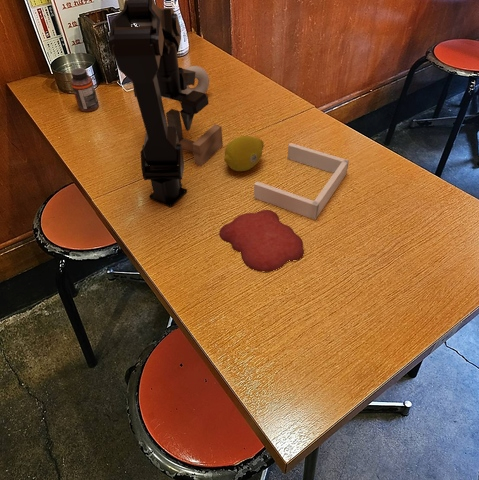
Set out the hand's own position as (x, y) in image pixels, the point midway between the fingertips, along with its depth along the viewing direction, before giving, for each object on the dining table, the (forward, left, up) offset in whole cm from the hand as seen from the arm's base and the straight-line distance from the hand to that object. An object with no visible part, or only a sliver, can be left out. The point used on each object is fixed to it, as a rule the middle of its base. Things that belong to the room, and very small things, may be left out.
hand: (174, 125), depth 116 cm
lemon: (0, -20, -6) cm, 21 cm away
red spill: (-20, -36, -6) cm, 42 cm away
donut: (+22, +10, -6) cm, 25 cm away
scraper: (0, -5, -6) cm, 7 cm away
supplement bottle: (+3, +35, -6) cm, 35 cm away
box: (0, -36, -6) cm, 36 cm away
